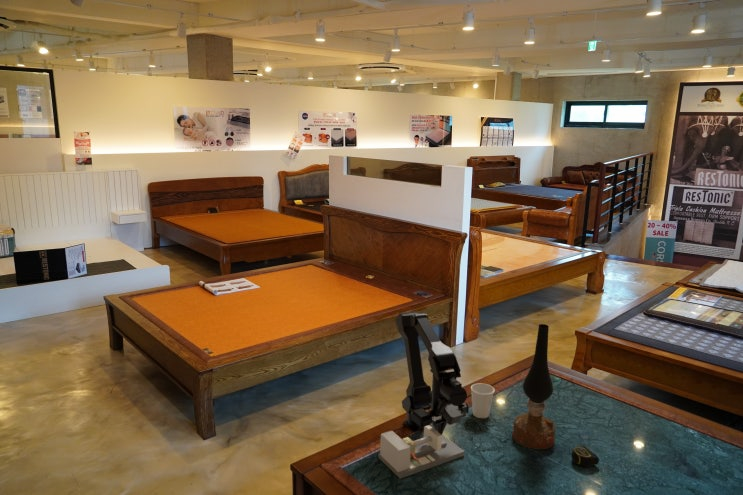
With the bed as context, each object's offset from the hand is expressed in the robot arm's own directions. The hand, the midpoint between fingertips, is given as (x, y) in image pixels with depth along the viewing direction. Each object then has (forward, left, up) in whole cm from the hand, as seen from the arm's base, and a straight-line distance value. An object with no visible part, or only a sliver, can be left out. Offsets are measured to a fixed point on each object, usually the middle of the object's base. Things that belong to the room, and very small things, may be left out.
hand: (439, 436), depth 172 cm
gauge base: (0, -6, -5) cm, 8 cm away
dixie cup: (-11, +28, -5) cm, 30 cm away
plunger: (0, -6, -2) cm, 6 cm away
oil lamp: (+9, +33, -5) cm, 34 cm away
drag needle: (+2, -12, -2) cm, 12 cm away
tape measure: (+26, +36, -5) cm, 45 cm away
